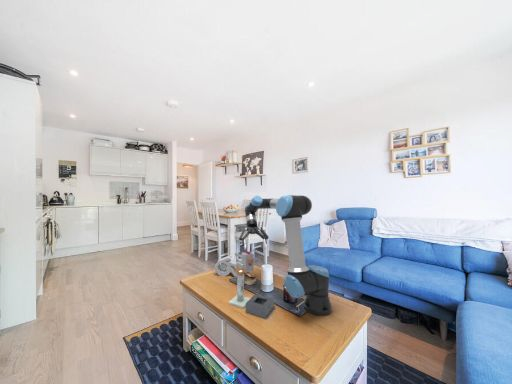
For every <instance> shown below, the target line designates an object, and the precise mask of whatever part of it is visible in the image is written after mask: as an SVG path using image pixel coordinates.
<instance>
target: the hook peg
mask: <svg viewBox="0 0 512 384" xmlns="http://www.w3.org/2000/svg"><path fill="white" fill-rule="evenodd" d="M235 273H237V276H236V278H237V279H236V281H237V282H236V295H237V301H238V302H243V301H244V297H245V280H244V277H245V274H247V272H246V269H245V268H237V267H236V270H235Z"/></svg>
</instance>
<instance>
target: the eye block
mask: <svg viewBox="0 0 512 384" xmlns="http://www.w3.org/2000/svg"><path fill="white" fill-rule="evenodd" d="M250 298H251V299H250V300H249V301H248V302H247V303H246V306H245V313H246V314H249V315H253V316H255V317H259V318H262V319H264V320H266V319H267V318H268V317H269V315H270V314H271V313H272V311H273V310H274V308H275V298H273V297H269V296H266V295H261V294H258V293H254V295H252V297H250Z"/></svg>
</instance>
